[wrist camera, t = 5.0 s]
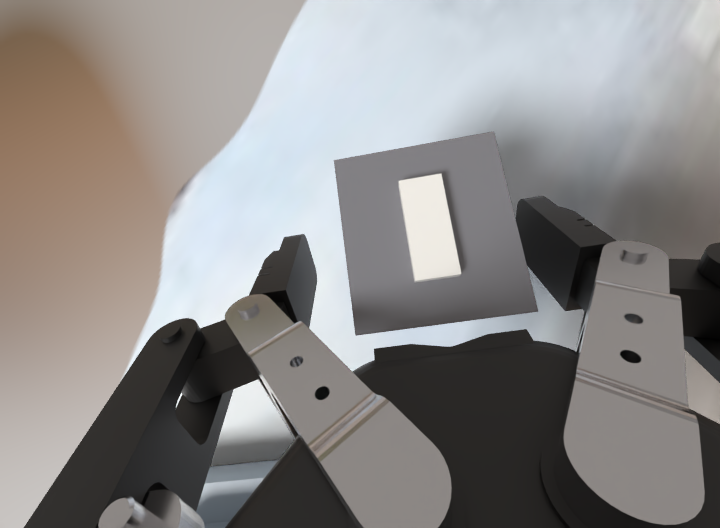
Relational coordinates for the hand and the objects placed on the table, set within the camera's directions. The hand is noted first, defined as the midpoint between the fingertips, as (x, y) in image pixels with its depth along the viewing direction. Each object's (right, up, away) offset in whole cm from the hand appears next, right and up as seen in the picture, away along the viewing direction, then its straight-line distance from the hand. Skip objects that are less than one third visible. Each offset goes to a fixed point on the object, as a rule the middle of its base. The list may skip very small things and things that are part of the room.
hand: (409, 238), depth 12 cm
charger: (+1, -2, +5) cm, 6 cm away
